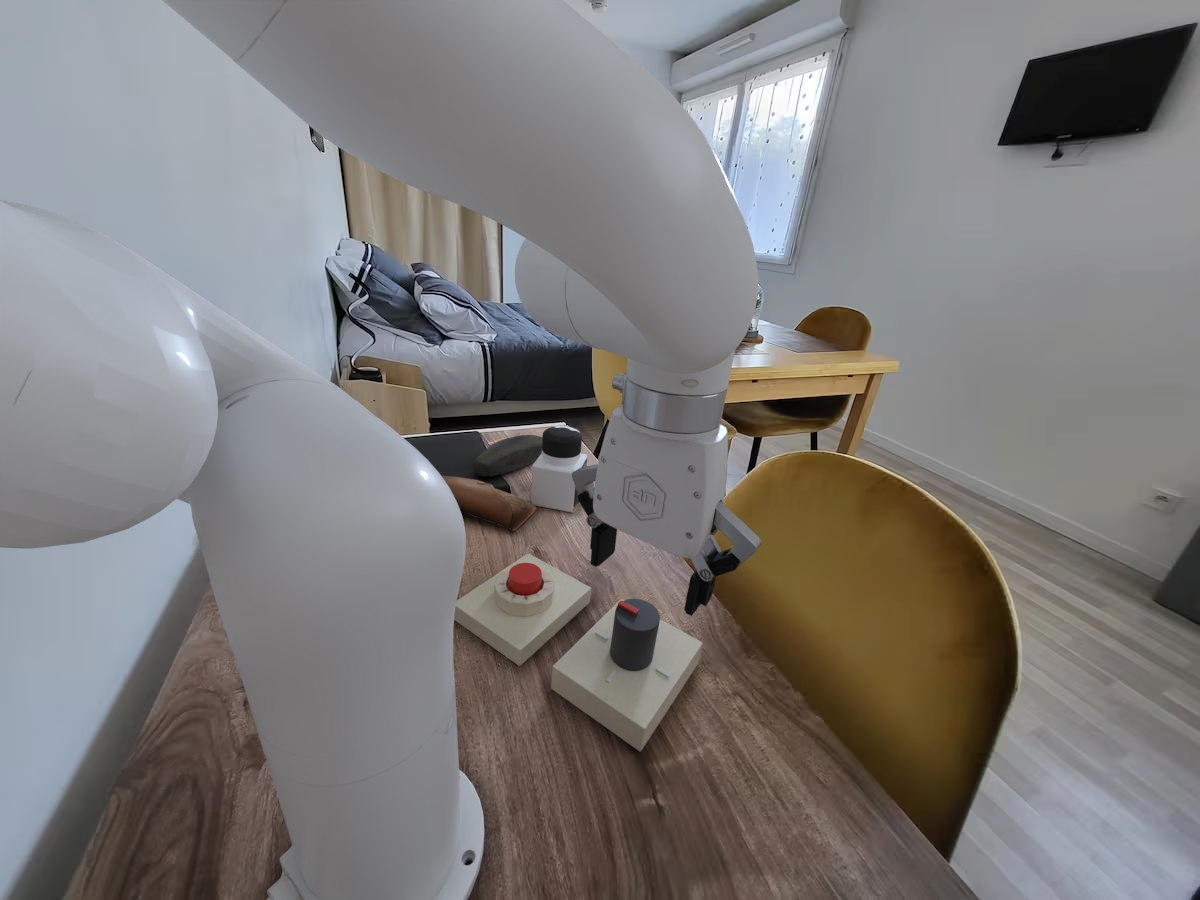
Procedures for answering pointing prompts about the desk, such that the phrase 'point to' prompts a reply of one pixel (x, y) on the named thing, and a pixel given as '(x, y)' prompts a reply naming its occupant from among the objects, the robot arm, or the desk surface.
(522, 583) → the power button
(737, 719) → the desk surface
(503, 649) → the button block
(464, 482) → the sunglasses case
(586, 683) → the timer panel
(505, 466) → the decorative stone
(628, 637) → the timer knob
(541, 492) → the medicine bottle
